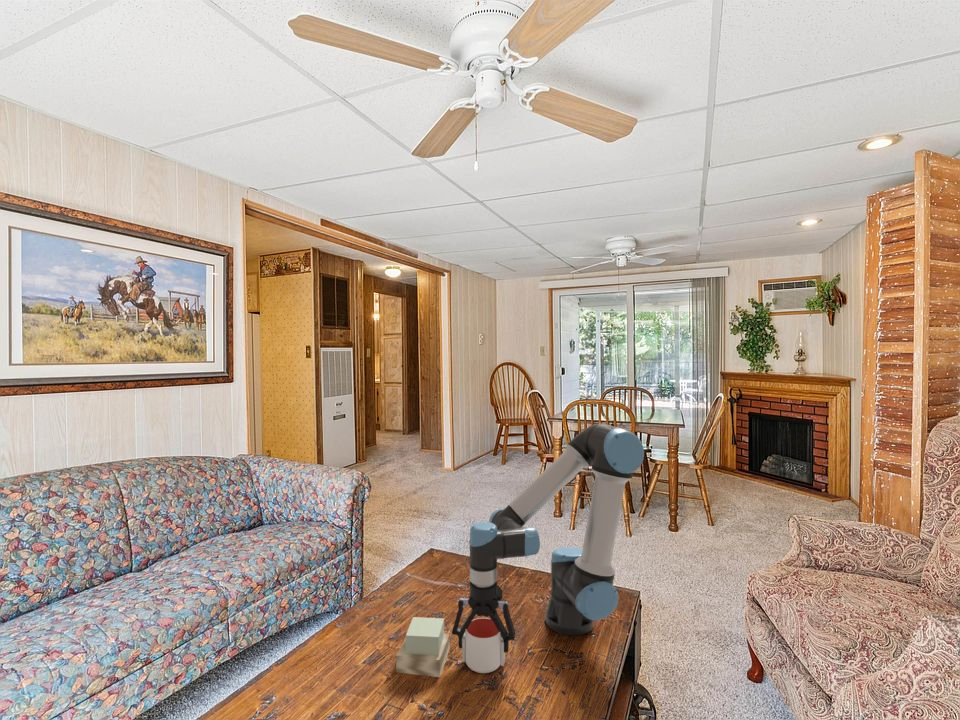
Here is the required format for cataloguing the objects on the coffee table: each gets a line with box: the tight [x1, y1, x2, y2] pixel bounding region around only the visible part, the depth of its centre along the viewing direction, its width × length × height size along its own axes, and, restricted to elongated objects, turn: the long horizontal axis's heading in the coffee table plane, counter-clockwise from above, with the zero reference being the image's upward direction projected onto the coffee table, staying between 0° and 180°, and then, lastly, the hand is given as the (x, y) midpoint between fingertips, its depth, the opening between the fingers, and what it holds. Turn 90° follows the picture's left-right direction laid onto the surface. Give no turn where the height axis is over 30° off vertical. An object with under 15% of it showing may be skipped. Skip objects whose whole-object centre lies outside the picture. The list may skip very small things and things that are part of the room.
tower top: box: [405, 616, 445, 656], centre depth 135 cm, size 9×9×5 cm
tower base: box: [395, 632, 451, 678], centre depth 135 cm, size 12×12×5 cm
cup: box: [465, 617, 502, 674], centre depth 133 cm, size 10×10×10 cm
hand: (483, 660), depth 133 cm, fingers closed on cup, 10 cm apart
